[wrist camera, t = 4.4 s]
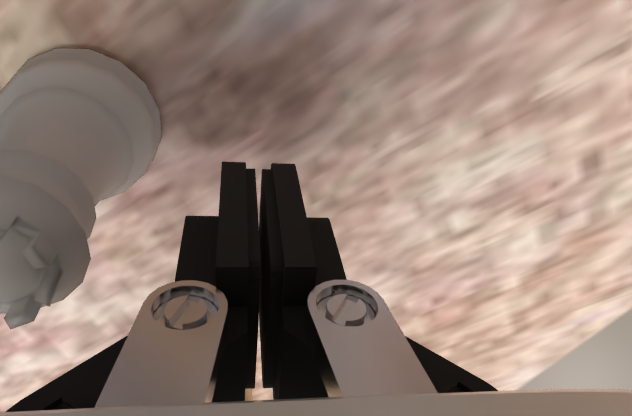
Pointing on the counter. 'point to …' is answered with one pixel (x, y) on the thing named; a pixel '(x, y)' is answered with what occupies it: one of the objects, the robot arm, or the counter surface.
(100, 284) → the counter surface
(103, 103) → the rook chess piece
